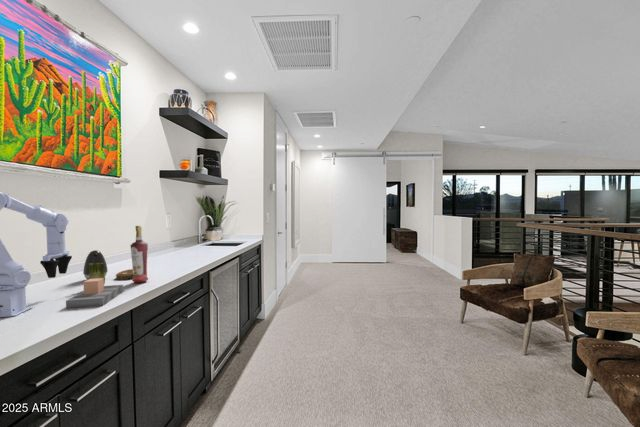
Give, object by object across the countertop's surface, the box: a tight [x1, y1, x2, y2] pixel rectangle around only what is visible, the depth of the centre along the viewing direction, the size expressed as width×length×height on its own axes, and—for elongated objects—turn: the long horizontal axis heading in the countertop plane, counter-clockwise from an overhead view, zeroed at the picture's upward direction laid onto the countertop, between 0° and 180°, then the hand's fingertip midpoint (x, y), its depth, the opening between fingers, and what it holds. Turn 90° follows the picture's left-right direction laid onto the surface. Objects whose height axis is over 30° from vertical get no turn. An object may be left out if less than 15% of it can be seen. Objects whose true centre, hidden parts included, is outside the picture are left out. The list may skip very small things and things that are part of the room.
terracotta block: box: [83, 278, 105, 294], centre depth 124 cm, size 5×5×5 cm
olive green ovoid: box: [82, 249, 109, 280], centre depth 159 cm, size 10×10×15 cm
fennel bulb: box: [89, 263, 106, 285], centre depth 140 cm, size 6×5×12 cm
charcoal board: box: [65, 284, 124, 310], centre depth 124 cm, size 20×12×3 cm, turn 14°
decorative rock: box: [115, 268, 133, 281], centre depth 164 cm, size 11×4×15 cm
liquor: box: [130, 225, 149, 284], centre depth 151 cm, size 7×7×28 cm
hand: (57, 275), depth 126 cm, fingers open, 7 cm apart
